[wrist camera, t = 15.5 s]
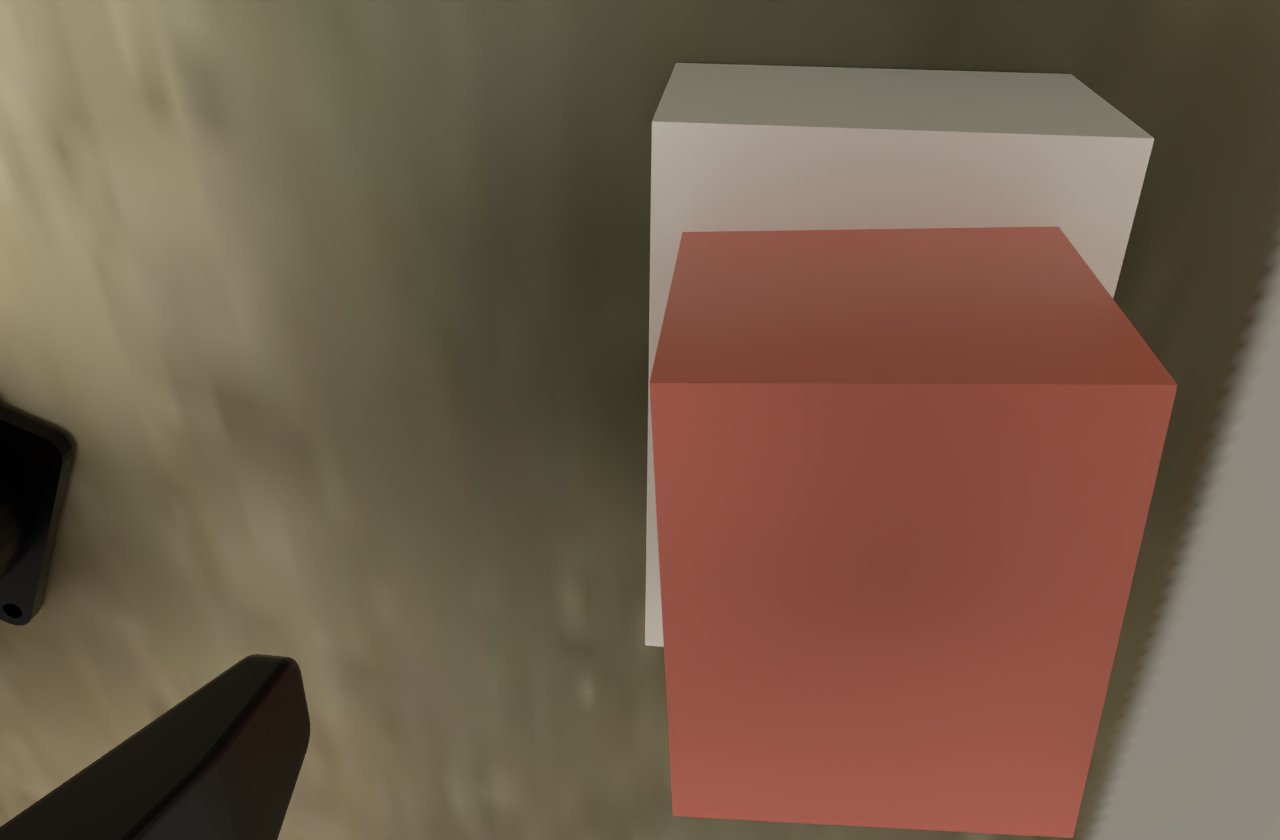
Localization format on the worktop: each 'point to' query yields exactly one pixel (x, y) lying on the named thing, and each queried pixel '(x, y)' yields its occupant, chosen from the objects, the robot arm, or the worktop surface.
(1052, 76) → the box
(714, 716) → the salmon red block
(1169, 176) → the worktop surface
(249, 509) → the worktop surface
